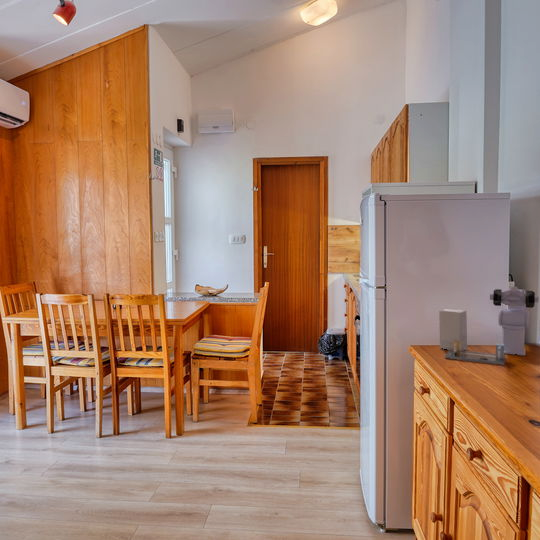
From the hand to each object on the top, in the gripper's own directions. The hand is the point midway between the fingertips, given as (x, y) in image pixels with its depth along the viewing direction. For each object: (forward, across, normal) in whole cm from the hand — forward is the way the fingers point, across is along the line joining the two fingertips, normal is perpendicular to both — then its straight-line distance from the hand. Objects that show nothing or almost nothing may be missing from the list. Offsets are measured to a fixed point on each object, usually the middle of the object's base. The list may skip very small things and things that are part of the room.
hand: (513, 298), depth 149 cm
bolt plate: (-5, -11, +21) cm, 25 cm away
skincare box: (-15, -20, +21) cm, 32 cm away
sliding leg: (-4, -4, +20) cm, 21 cm away
